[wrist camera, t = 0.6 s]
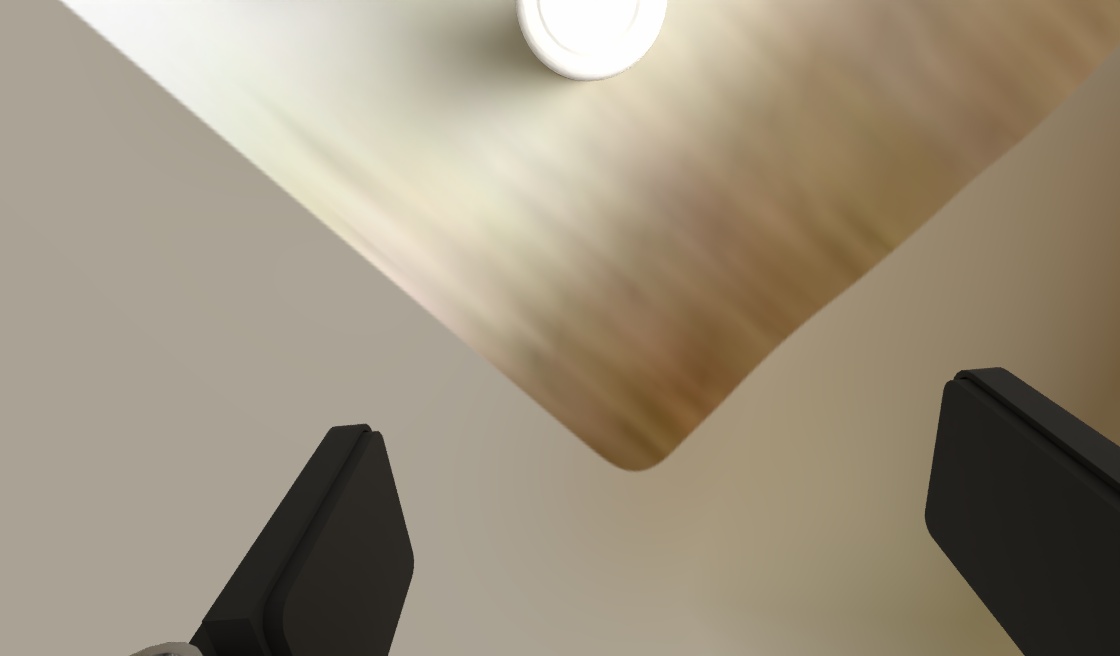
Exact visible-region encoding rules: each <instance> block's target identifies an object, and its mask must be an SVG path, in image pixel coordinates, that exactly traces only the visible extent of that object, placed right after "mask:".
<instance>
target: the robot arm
mask: <svg viewBox="0 0 1120 656" xmlns="http://www.w3.org/2000/svg"><path fill="white" fill-rule="evenodd" d="M925 522H926V525H927V528H928V530H929V533H930V534H931V536H932V538H933V539H934V540H935V541H936V543H937V544H938V545H939V547H940V548H941V549H942V551H943V552H944V553H945V554H946V556H947V557H948V558H949V559H950V561H951V562H952V563H953V565H954V566H955V567H956V568H957V570H958V571H959V572H960V574H961V575H962V576H963V577H964V578H965V580H966V581H967V582H968V584H969V585H970V586H971V588H972V589H973V590H974V591H975V592H976V594H977V595H978V597H979V598H980V599H981V600H982V602H983V603H984V604H985V605H986V607H987V608H988V609H989V611H990V612H991V613H992V614H993V616H994V617H995V618H996V619H997V621H998V622H999V623H1000V625H1001V626H1002V627H1003V628H1004V630H1005V631H1006V632H1007V634H1008V635H1009V636H1010V637H1011V639H1012V640H1013V641H1014V643H1015V644H1016V645H1017V646H1018V648H1019V649H1020V650H1021V651H1022V653H1023V654H1024V655H1025V656H1120V447H1119V446H1118V445H1116V444H1115V443H1113V442H1112V441H1110V440H1109V439H1107V438H1106V437H1104V436H1103V435H1101V434H1100V433H1099V432H1097V431H1095V430H1094V429H1093V428H1091V427H1090V426H1088V425H1087V424H1085V423H1084V422H1082V421H1081V420H1079V419H1078V418H1076V417H1075V416H1074V415H1072V414H1070V413H1069V412H1067V411H1066V410H1065V409H1063V408H1062V407H1060V406H1059V405H1057V404H1056V403H1054V402H1053V401H1051V400H1050V399H1049V398H1047V397H1046V396H1044V395H1043V394H1041V393H1039V392H1038V391H1037V390H1035V389H1034V388H1032V387H1031V386H1029V385H1028V384H1026V383H1025V382H1024V381H1022V380H1021V379H1019V378H1017V377H1016V376H1014V375H1013V374H1012V373H1010V372H1009V371H1007V370H1005V369H1003V368H1001V367H995V368H984V369H972V370H961V371H960V372H958V373H957V374H956V376H955V377H954V380H950V381H949V382H947V383H946V385H945V387H944V391H943V397H942V403H941V411H940V417H939V423H938V430H937V437H936V443H935V449H934V456H933V463H932V469H931V475H930V482H929V489H928V495H927V502H926V508H925ZM413 569H414V556H413V551H412V547H411V543H410V539H409V535H408V531H407V528H406V524H405V520H404V516H403V512H402V508H401V505H400V501H399V497H398V493H397V489H396V486H395V482H394V478H393V474H392V470H391V466H390V463H389V459H388V455H387V451H386V447H385V443H384V440H383V437H382V435H381V434H380V432H379V431H374V432H372V430H371V428H370V427H369V425H367V424H357V425H347V426H335V427H332V428H331V429H330V430H329V431H328V433H327V434H326V436H325V437H324V439H323V440H322V442H321V443H320V445H319V446H318V448H317V449H316V451H315V452H314V454H313V455H312V457H311V458H310V460H309V461H308V463H307V464H306V466H305V467H304V469H303V470H302V472H301V473H300V475H299V476H298V478H297V479H296V481H295V482H294V484H293V485H292V487H291V489H290V490H289V491H288V493H287V494H286V496H285V497H284V499H283V500H282V502H281V503H280V505H279V506H278V508H277V509H276V511H275V512H274V514H273V515H272V517H271V518H270V520H269V521H268V523H267V524H266V526H265V527H264V529H263V530H262V532H261V533H260V535H259V536H258V538H257V539H256V541H255V542H254V544H253V545H252V547H251V548H250V550H249V551H248V553H247V554H246V556H245V557H244V559H243V560H242V562H241V563H240V565H239V566H238V568H237V569H236V571H235V572H234V574H233V575H232V577H231V578H230V580H229V581H228V583H227V584H226V586H225V587H224V589H223V590H222V592H221V593H220V595H219V596H218V598H217V599H216V601H215V602H214V604H213V605H212V607H211V608H210V610H209V611H208V613H207V614H206V616H205V617H204V619H203V620H202V624H201V626H200V627H199V628H198V630H197V632H196V633H195V635H194V636H193V637H192V639H191V641H190V642H189V643H186V642H167V643H163V644H159V645H155V646H151V647H148V648H146V649H143V650H141V651H139V652H137V653H134V654H132V655H130V656H388V653H389V650H390V647H391V643H392V640H393V637H394V634H395V631H396V627H397V624H398V621H399V618H400V614H401V611H402V608H403V605H404V602H405V598H406V595H407V592H408V589H409V585H410V582H411V579H412V575H413Z"/></svg>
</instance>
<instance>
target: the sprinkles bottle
mask: <svg viewBox="0 0 1120 656" xmlns="http://www.w3.org/2000/svg"><path fill="white" fill-rule="evenodd" d="M515 3H516V12H517V17H518V21H519V25H520V28H521V31H522V33H523V36H524V38H525V40H526V42H527V44H528V45H529V47H530V48H531V50H532V51H533V53H534V54H535V55H536V56H537V58H538V59H539V60H540V61H541V62H542V63H543V64H545V65H546V66H547V67H548V68H550V69H551V70H553V71H554V72H556V73H558V74H560V75H562V76H564V77H567V78H570V79H574V80H579V81H598V80H603V79H607V78H610V77H613V76H615V75H618V74H620V73H622V72H624V71H625V70H627V69H629V68H630V67H631V66H633V65H634V64H635V63H636V62H638V61H639V60H640V59H641V58H642V57H643V56H644V55H645V53H646V52H647V51H648V50H649V48H650V47H651V45H652V44H653V42H654V41H655V39H656V37H657V35H658V33H659V31H660V28H661V26H662V23H663V20H664V16H665V11H666V5H667V0H515Z"/></svg>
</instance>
